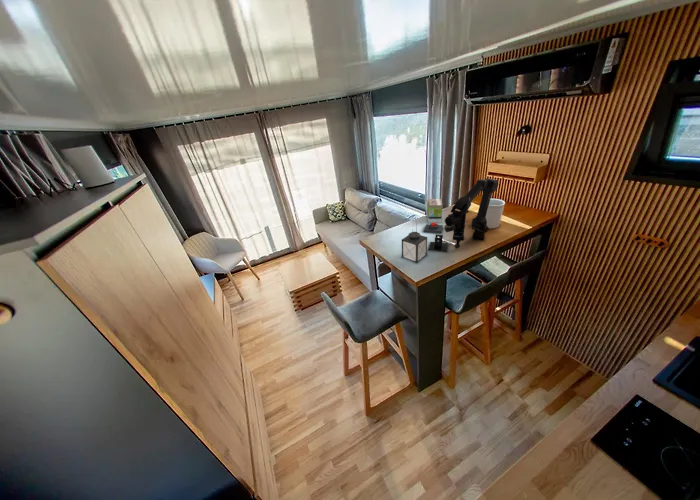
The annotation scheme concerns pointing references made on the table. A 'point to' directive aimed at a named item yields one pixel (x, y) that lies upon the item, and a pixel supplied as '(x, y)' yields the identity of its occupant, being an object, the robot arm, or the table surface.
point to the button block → (433, 228)
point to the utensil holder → (494, 213)
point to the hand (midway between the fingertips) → (457, 243)
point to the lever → (450, 243)
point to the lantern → (414, 246)
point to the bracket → (438, 244)
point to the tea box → (434, 210)
